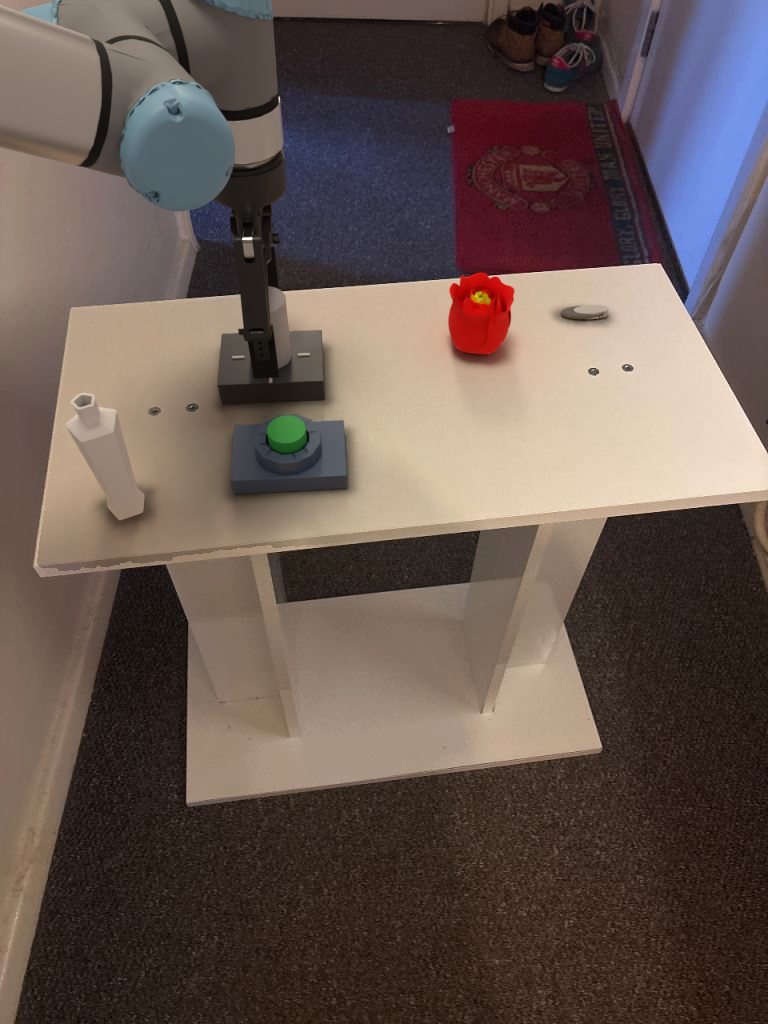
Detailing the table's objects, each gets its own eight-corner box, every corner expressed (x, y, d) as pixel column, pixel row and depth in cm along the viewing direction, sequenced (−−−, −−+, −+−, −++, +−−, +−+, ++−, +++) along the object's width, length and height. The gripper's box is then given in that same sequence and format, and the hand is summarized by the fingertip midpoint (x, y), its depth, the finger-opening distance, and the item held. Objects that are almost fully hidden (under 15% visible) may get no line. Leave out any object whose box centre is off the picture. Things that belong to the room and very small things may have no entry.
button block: (233, 494, 79) (227, 469, 76) (236, 438, 84) (231, 413, 81) (347, 488, 80) (346, 463, 77) (344, 433, 85) (343, 408, 82)
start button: (268, 455, 78) (266, 444, 76) (269, 427, 80) (267, 415, 79) (307, 453, 78) (305, 442, 77) (306, 425, 80) (305, 414, 79)
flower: (517, 340, 95) (528, 287, 88) (487, 375, 91) (495, 321, 85) (463, 317, 97) (470, 264, 91) (432, 350, 94) (436, 296, 87)
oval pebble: (560, 322, 98) (561, 315, 97) (559, 310, 99) (560, 303, 98) (608, 321, 97) (610, 314, 96) (606, 309, 98) (607, 302, 98)
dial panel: (221, 404, 87) (216, 384, 85) (225, 352, 93) (221, 332, 90) (324, 399, 88) (323, 379, 85) (322, 348, 93) (321, 328, 91)
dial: (291, 369, 87) (285, 310, 80) (249, 371, 86) (239, 311, 80) (291, 341, 89) (285, 282, 83) (251, 343, 89) (241, 284, 83)
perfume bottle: (143, 481, 80) (103, 376, 68) (154, 511, 78) (114, 407, 66) (100, 495, 79) (51, 391, 67) (109, 526, 77) (61, 423, 65)
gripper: (209, 88, 76) (238, 269, 93) (189, 228, 61) (228, 414, 78) (284, 86, 76) (299, 267, 93) (283, 225, 61) (301, 411, 78)
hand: (267, 335), depth 85 cm, fingers open, 13 cm apart
